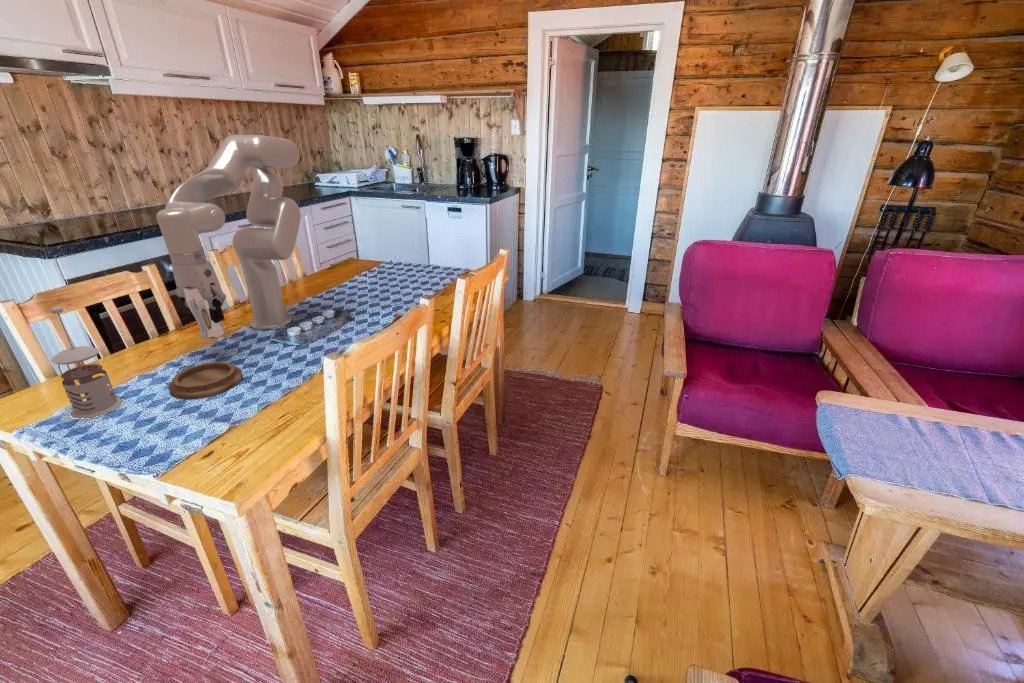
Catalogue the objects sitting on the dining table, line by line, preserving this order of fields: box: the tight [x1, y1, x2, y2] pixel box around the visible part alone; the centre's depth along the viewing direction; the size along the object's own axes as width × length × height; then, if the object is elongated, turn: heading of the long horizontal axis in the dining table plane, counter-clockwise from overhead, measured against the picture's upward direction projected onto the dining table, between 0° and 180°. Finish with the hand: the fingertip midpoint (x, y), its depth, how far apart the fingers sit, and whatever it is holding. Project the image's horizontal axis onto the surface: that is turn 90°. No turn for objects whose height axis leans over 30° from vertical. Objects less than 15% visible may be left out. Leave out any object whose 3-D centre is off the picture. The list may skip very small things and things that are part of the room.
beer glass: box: [183, 287, 226, 340], centre depth 130 cm, size 7×7×15 cm
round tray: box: [168, 361, 244, 400], centre depth 120 cm, size 16×16×3 cm
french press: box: [50, 306, 124, 419], centre depth 105 cm, size 10×12×25 cm
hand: (208, 319), depth 131 cm, fingers closed on beer glass, 6 cm apart
